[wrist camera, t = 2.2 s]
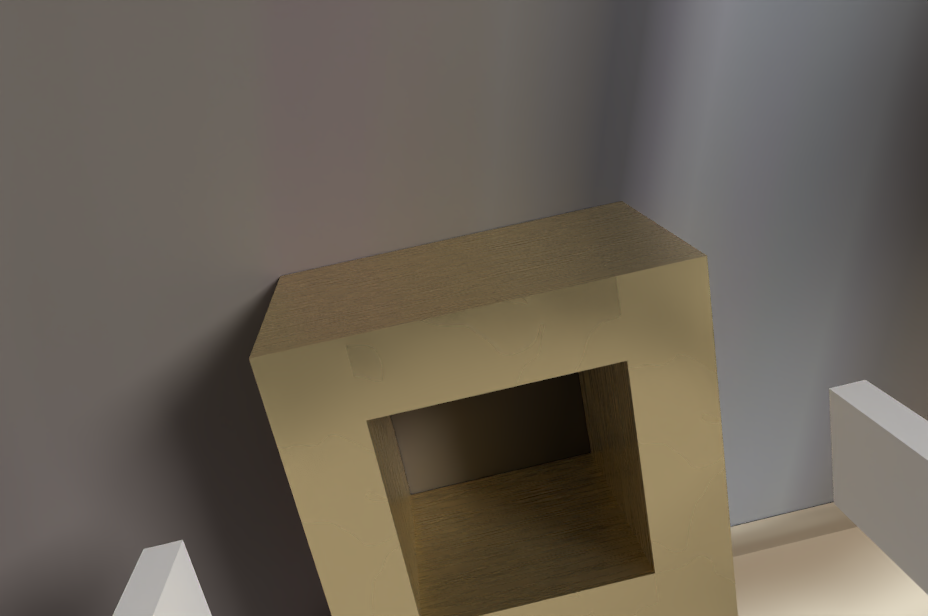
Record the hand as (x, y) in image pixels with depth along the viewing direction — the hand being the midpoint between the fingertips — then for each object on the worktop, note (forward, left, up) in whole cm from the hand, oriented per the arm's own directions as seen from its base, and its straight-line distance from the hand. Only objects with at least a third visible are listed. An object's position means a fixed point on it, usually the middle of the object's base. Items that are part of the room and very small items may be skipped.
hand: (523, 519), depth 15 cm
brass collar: (0, 0, -5) cm, 5 cm away
